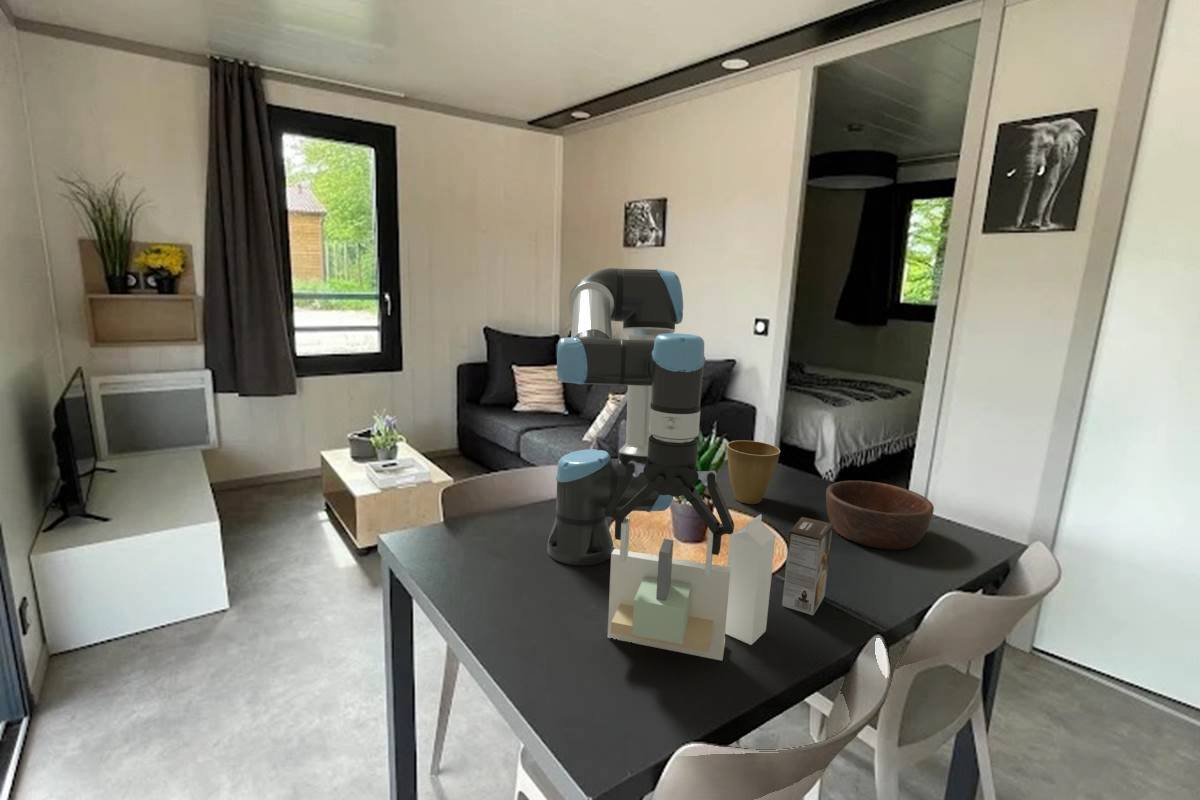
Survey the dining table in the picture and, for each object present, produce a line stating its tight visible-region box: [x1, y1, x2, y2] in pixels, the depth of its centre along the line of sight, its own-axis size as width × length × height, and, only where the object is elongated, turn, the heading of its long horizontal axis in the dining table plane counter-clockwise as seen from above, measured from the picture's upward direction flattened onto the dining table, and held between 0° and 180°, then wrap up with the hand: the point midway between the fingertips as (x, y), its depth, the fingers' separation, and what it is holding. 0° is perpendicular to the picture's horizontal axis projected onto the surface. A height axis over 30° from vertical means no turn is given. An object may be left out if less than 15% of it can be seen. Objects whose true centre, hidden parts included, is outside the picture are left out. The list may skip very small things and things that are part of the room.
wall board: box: [607, 548, 731, 661], centre depth 102 cm, size 20×10×16 cm, turn 74°
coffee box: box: [781, 516, 834, 616], centre depth 120 cm, size 9×6×16 cm
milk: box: [725, 514, 777, 646], centre depth 108 cm, size 6×6×22 cm
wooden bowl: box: [825, 480, 935, 551], centre depth 155 cm, size 25×25×10 cm
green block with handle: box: [632, 538, 691, 644], centre depth 97 cm, size 8×8×14 cm
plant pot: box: [726, 440, 781, 505], centre depth 175 cm, size 15×15×16 cm
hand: (665, 565), depth 96 cm, fingers open, 13 cm apart
